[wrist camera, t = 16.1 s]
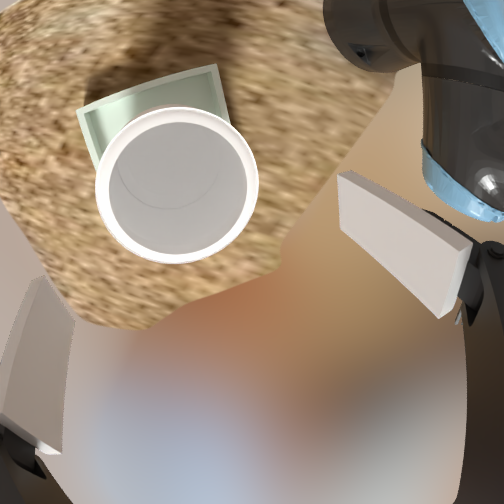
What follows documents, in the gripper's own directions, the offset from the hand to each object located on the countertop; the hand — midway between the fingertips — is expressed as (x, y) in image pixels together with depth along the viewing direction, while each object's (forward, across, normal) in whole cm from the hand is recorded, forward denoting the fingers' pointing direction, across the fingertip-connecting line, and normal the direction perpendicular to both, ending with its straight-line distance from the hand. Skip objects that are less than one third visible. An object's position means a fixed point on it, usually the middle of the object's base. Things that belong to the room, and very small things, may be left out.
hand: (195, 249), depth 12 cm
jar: (+22, 0, 0) cm, 22 cm away
